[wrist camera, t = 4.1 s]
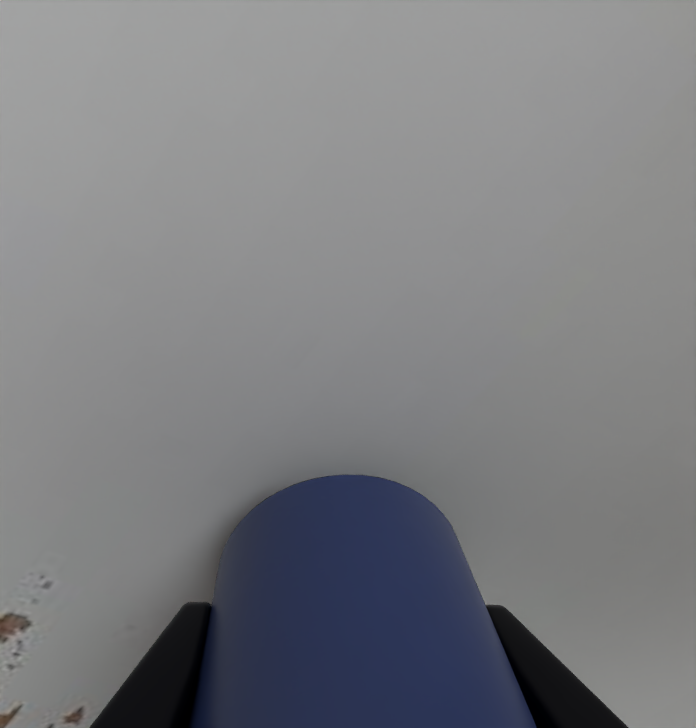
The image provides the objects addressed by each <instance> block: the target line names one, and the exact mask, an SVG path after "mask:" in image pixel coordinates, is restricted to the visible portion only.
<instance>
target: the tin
mask: <svg viewBox="0 0 696 728" xmlns="http://www.w3.org/2000/svg"><path fill="white" fill-rule="evenodd" d="M188 728H537V727H536V725H535V722H534V720H533V717H532V715H531V713H530V710H529V708H528V706H527V703H526V701H525V698H524V696H523V694H522V691H521V689H520V686H519V684H518V682H517V679H516V677H515V675H514V672H513V670H512V667H511V665H510V663H509V660H508V658H507V655H506V653H505V651H504V648H503V646H502V644H501V641H500V639H499V636H498V634H497V632H496V629H495V627H494V625H493V622H492V620H491V617H490V615H489V613H488V610H487V608H486V605H485V603H484V601H483V598H482V596H481V594H480V591H479V589H478V586H477V584H476V582H475V579H474V577H473V574H472V572H471V570H470V567H469V565H468V563H467V560H466V558H465V555H464V553H463V551H462V548H461V546H460V543H459V541H458V539H457V536H456V534H455V532H454V530H453V528H452V526H451V524H450V523H449V521H448V520H447V518H446V517H445V515H444V514H443V513H442V512H441V511H440V510H439V509H438V508H437V507H436V506H435V505H434V504H433V503H432V502H431V501H429V500H428V499H427V498H425V497H424V496H423V495H421V494H419V493H418V492H416V491H414V490H412V489H411V488H409V487H406V486H404V485H401V484H399V483H397V482H394V481H390V480H386V479H383V478H379V477H372V476H365V475H335V476H326V477H321V478H315V479H311V480H307V481H304V482H301V483H298V484H295V485H292V486H290V487H288V488H286V489H283V490H281V491H279V492H277V493H276V494H274V495H272V496H270V497H269V498H267V499H265V500H264V501H263V502H261V503H260V504H259V505H257V506H256V507H255V508H254V509H252V510H251V511H250V512H249V513H248V514H247V515H246V516H245V517H244V518H243V519H242V520H241V521H240V523H239V524H238V525H237V527H236V528H235V529H234V531H233V532H232V533H231V535H230V537H229V539H228V541H227V543H226V544H225V547H224V549H223V552H222V555H221V558H220V563H219V568H218V573H217V579H216V584H215V589H214V594H213V599H212V605H211V610H210V615H209V620H208V625H207V631H206V636H205V641H204V646H203V651H202V657H201V662H200V667H199V672H198V677H197V683H196V688H195V693H194V698H193V703H192V709H191V714H190V719H189V724H188Z"/></svg>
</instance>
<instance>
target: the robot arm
mask: <svg viewBox="0 0 696 728" xmlns="http://www.w3.org/2000/svg"><path fill="white" fill-rule="evenodd" d="M486 608H487V610H488V613H489V615H490V617H491V620H492V622H493V625H494V627H495V629H496V632H497V634H498V636H499V639H500V641H501V644H502V646H503V648H504V651H505V653H506V655H507V658H508V660H509V663H510V665H511V667H512V670H513V672H514V675H515V677H516V679H517V682H518V684H519V686H520V689H521V691H522V694H523V696H524V698H525V701H526V703H527V706H528V708H529V710H530V713H531V715H532V717H533V720H534V722H535V725H536V727H537V728H628V727H627V726H626V725H625V724H624V723H623V722H622V721H621V720H620V719H619V718H618V717H617V716H616V715H615V714H614V713H613V712H612V711H611V710H610V709H609V708H608V707H607V706H606V705H605V704H604V703H603V702H602V701H601V700H600V699H599V698H598V697H597V696H595V695H594V694H593V693H592V692H591V691H590V690H589V689H588V688H587V687H586V686H585V685H584V684H583V683H582V682H581V681H580V680H579V679H578V678H577V677H576V676H575V675H574V674H573V673H572V672H571V671H570V670H569V669H568V668H567V667H566V666H565V665H564V664H563V663H562V662H561V661H560V660H559V659H557V658H556V657H555V656H554V655H553V654H552V653H551V652H550V651H549V650H548V649H547V648H546V647H545V646H544V645H543V644H542V643H541V642H540V641H539V640H538V639H537V638H536V637H535V636H534V635H533V634H532V633H531V632H530V631H529V630H528V629H527V628H526V627H525V626H524V625H523V624H522V623H521V622H519V621H518V620H517V619H516V618H515V617H514V616H513V615H512V614H511V613H510V612H509V611H508V610H507V609H506V608H505V607H503V606H501V605H486ZM210 610H211V605H210V604H209V603H207V602H188V603H186V604H184V605H183V606H182V608H181V609H180V610H179V612H178V613H177V614H176V615H175V617H174V618H173V619H172V621H171V622H170V623H169V625H168V626H167V627H166V629H165V630H164V631H163V632H162V634H161V635H160V636H159V638H158V639H157V640H156V642H155V643H154V644H153V645H152V647H151V648H150V649H149V651H148V652H147V653H146V655H145V656H144V657H143V659H142V660H141V661H140V662H139V664H138V665H137V666H136V668H135V669H134V670H133V672H132V673H131V674H130V676H129V677H128V678H127V679H126V681H125V682H124V683H123V685H122V686H121V687H120V689H119V690H118V691H117V692H116V694H115V695H114V696H113V698H112V699H111V700H110V702H109V703H108V704H107V706H106V707H105V708H104V709H103V711H102V712H101V713H100V715H99V716H98V717H97V719H96V720H95V721H94V723H93V724H92V725H91V726H90V728H188V724H189V719H190V714H191V709H192V703H193V698H194V693H195V688H196V683H197V677H198V672H199V667H200V662H201V657H202V651H203V646H204V641H205V636H206V631H207V625H208V620H209V615H210Z"/></svg>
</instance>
